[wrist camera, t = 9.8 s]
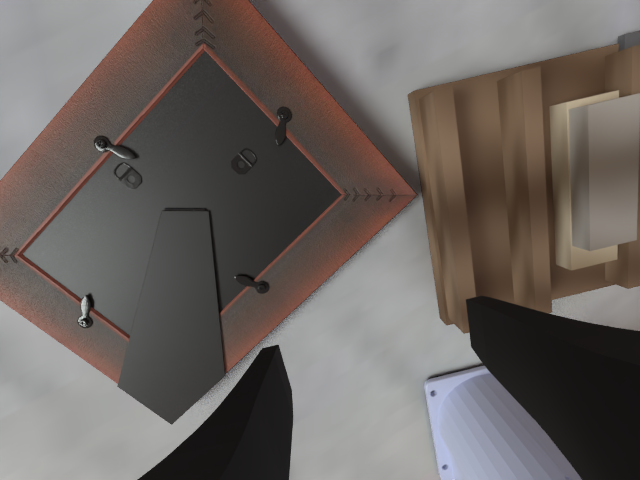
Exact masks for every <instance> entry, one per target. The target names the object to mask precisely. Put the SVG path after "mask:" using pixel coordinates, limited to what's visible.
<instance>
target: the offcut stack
mask: <svg viewBox="0 0 640 480" xmlns="http://www.w3.org/2000/svg"><path fill="white" fill-rule="evenodd" d="M549 110H550V134H551V158H552V182H553V206H554V230H555V254H556V265H558V266H561V267H564V268H566V269H569V270H576V269H580V268H584V267H588V266H592V265H596V264H600V263H605V262H609V261H613V260H617V254H618V244H622V243H626V242H631V241H635V240H637V211H638V171H639V131H640V93H639V94H634V95H629V96H625V97H620V98H619V90H617V91H612V92H608V93H604V94H600V95H595V96H591V97H587V98H583V99H578V100H574V101H570V102H565V103H561V104H557V105H553V106H549Z"/></svg>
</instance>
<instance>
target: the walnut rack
mask: <svg viewBox="0 0 640 480" xmlns="http://www.w3.org/2000/svg"><path fill="white" fill-rule="evenodd" d="M617 90H619V98H620V97H625V96H629V95H634V94H639V93H640V45H637V46H632V47H630V48H627V49H624V50H621V51H619V44H614V45H610V46H606V47H601V48H597V49H593V50H589V51H584V52H580V53H576V54H571V55H567V56H563V57H558V58H554V59H550V60H545V61H541V62H537V63H532V64H528V65H524V66H519V67H515V68H511V69H506V70H502V71H498V72H493V73H489V74H485V75H480V76H476V77H472V78H468V79H463V80H459V81H455V82H450V83H446V84H442V85H437V86H433V87H429V88H424V89H420V90H416V91H413V92H411V93H410V94H408V100H409V107H410V113H411V120H412V127H413V134H414V141H415V148H416V155H417V162H418V169H419V176H420V183H421V189H422V196H423V203H424V210H425V217H426V224H427V231H428V238H429V245H430V252H431V259H432V265H433V272H434V279H435V286H436V293H437V300H438V307H439V314H440V319H441V320H442V321H443V322H444V323H445V324H446V325H450V324H455V325H456V326H457V327H458V328H459V329H460V330H461V331H462V332H463V333H464V334H465V333H469V332H470V331H469V323H468V315H467V306H466V299H469V298H474V297H478V296H486V297H491V298H495V299H499V300H502V301H506V302H509V303H513V304H516V305H520V306H523V307H527V308H530V309H534V310H537V311H541V312H545V313H551V312H552V300H553V299H558V298H562V297H566V296H570V295H574V294H578V293H582V292H586V291H591V290H595V289H599V288H603V287H607V286H611V285H615V284H617V285H619V286H622V287H625V288H627V289H629V288H633V287H637V286H640V131H639V171H638V211H637V240H635V241H631V242H626V243H622V244H618V254H617V260H613V261H609V262H605V263H600V264H596V265H592V266H588V267H584V268H580V269H576V270H569V269H566V268H564V267H561V266H558V265H556V254H555V230H554V206H553V182H552V158H551V134H550V110H549V106H553V105H557V104H561V103H565V102H570V101H574V100H578V99H583V98H587V97H591V96H595V95H600V94H604V93H608V92H612V91H617Z"/></svg>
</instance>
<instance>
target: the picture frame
mask: <svg viewBox="0 0 640 480" xmlns="http://www.w3.org/2000/svg"><path fill="white" fill-rule="evenodd" d="M416 196H417V194H416V193H415V192H414V190H413V189H412V188H411V187H410V186H409V185H408V183H407V182H406V181H405V180H404V179H403V178H402V177H401V175H400V174H399V173H398V172H397V171H396V170H395V168H394V167H393V166H392V165H391V164H390V163H389V162H388V160H387V159H386V158H385V157H384V156H383V155H382V153H381V152H380V151H379V150H378V149H377V148H376V147H375V145H374V144H373V143H372V142H371V141H370V140H369V139H368V137H367V136H366V135H365V134H364V133H363V132H362V130H361V129H360V128H359V127H358V126H357V125H356V124H355V122H354V121H353V120H352V119H351V118H350V117H349V115H348V114H347V113H346V112H345V111H344V110H343V109H342V107H341V106H340V105H339V104H338V103H337V102H336V100H335V99H334V98H333V97H332V96H331V95H330V94H329V92H328V91H327V90H326V89H325V88H324V87H323V85H322V84H321V83H320V82H319V81H318V80H317V79H316V77H315V76H314V75H313V74H312V73H311V72H310V70H309V69H308V68H307V67H306V66H305V65H304V64H303V62H302V61H301V60H300V59H299V58H298V57H297V56H296V54H295V53H294V52H293V51H292V50H291V49H290V47H289V46H288V45H287V44H286V43H285V42H284V41H283V39H282V38H281V37H280V36H279V35H278V34H277V32H276V31H275V30H274V29H273V28H272V27H271V26H270V24H269V23H268V22H267V21H266V20H265V19H264V17H263V16H262V15H261V14H260V13H259V12H258V11H257V9H256V8H255V7H254V6H253V5H252V4H251V2H250V1H249V0H153V1H152V2H151V3H150V5H149V6H148V7H147V8H146V9H145V11H144V12H143V13H142V14H141V15H140V16H139V18H138V19H137V20H136V21H135V22H134V24H133V25H132V26H131V27H130V28H129V29H128V31H127V32H126V33H125V34H124V35H123V37H122V38H121V39H120V40H119V41H118V42H117V44H116V45H115V46H114V47H113V48H112V50H111V51H110V52H109V53H108V54H107V55H106V57H105V58H104V59H103V60H102V61H101V63H100V64H99V65H98V66H97V67H96V68H95V70H94V71H93V72H92V73H91V74H90V76H89V77H88V78H87V79H86V80H85V81H84V83H83V84H82V85H81V86H80V87H79V89H78V90H77V91H76V92H75V93H74V94H73V96H72V97H71V98H70V99H69V100H68V102H67V103H66V104H65V105H64V106H63V107H62V109H61V110H60V111H59V112H58V113H57V115H56V116H55V117H54V118H53V119H52V120H51V122H50V123H49V124H48V125H47V126H46V127H45V129H44V130H43V131H42V132H41V133H40V135H39V136H38V137H37V138H36V139H35V140H34V142H33V143H32V144H31V145H30V146H29V148H28V149H27V150H26V151H25V152H24V153H23V155H22V156H21V157H20V158H19V159H18V161H17V162H16V163H15V164H14V165H13V166H12V168H11V169H10V170H9V171H8V172H7V174H6V175H5V176H4V177H3V178H2V179H1V181H0V300H1V301H2V302H4V303H5V304H6V305H8V306H9V307H11V308H12V309H13V310H15V311H16V312H18V313H19V314H20V315H22V316H23V317H25V318H26V319H27V320H29V321H30V322H32V323H33V324H34V325H36V326H37V327H39V328H40V329H41V330H43V331H44V332H46V333H47V334H49V335H50V336H51V337H53V338H54V339H56V340H57V341H58V342H60V343H61V344H63V345H64V346H65V347H67V348H68V349H70V350H71V351H72V352H74V353H75V354H77V355H78V356H79V357H81V358H82V359H84V360H85V361H86V362H88V363H89V364H91V365H92V366H93V367H95V368H96V369H98V370H99V371H101V372H102V373H103V374H105V375H106V376H108V377H109V378H110V379H112V380H113V381H115V382H116V383H117V384H118V387H119V388H120V389H122V390H123V391H125V392H126V393H128V394H129V395H130V396H132V397H133V398H135V399H136V400H137V401H139V402H140V403H142V404H143V405H145V406H146V407H147V408H149V409H150V410H152V411H153V412H154V413H156V414H157V415H159V416H160V417H162V418H163V419H164V420H166V421H167V422H169V423H170V424H171V425H172V424H173V423H174V422H175V421H176V420H177V419H178V418H179V417H180V416H182V415H183V414H184V413H185V412H186V411H187V410H188V409H189V408H190V407H191V406H193V405H194V404H195V403H196V402H197V401H198V400H199V399H200V398H201V397H202V396H203V395H205V394H206V393H207V392H208V391H209V390H210V389H211V388H212V387H213V386H214V385H215V384H217V383H218V382H219V381H220V380H221V379H222V378H223V377H224V376H225V374H226V373H227V372H228V371H229V370H230V369H231V368H232V367H233V366H234V365H235V364H237V363H238V362H239V361H240V360H241V359H242V358H243V357H244V356H245V355H246V354H247V353H248V352H249V351H250V350H252V349H253V348H254V347H255V346H256V345H257V344H258V343H259V342H260V341H261V340H262V339H263V338H264V337H266V336H267V335H268V334H269V333H270V332H271V331H272V330H273V329H274V328H275V327H276V326H277V325H278V324H279V323H281V322H282V321H283V320H284V319H285V318H286V317H287V316H288V315H289V314H290V313H291V312H292V311H293V310H294V309H296V308H297V307H298V306H299V305H300V304H301V303H302V302H303V301H304V300H305V299H306V298H307V297H308V296H310V295H311V294H312V293H313V292H314V291H315V290H316V289H317V288H318V287H319V286H320V285H321V284H322V283H323V282H325V281H326V280H327V279H328V278H329V277H330V276H331V275H332V274H333V273H334V272H335V271H336V270H337V269H339V268H340V267H341V266H342V265H343V264H344V263H345V262H346V261H347V260H348V259H349V258H350V257H351V256H352V255H354V254H355V253H356V252H357V251H358V250H359V249H360V248H361V247H362V246H363V245H364V244H365V243H366V242H368V241H369V240H370V239H371V238H372V237H373V236H374V235H375V234H376V233H377V232H378V231H379V230H380V229H381V228H383V227H384V226H385V225H386V224H387V223H388V222H389V221H390V220H391V219H392V218H393V217H394V216H395V215H396V214H398V213H399V212H400V211H401V210H402V209H403V208H404V207H405V206H406V205H407V204H408V203H409V202H410V201H412V200H413V199H414V198H415V197H416Z"/></svg>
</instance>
